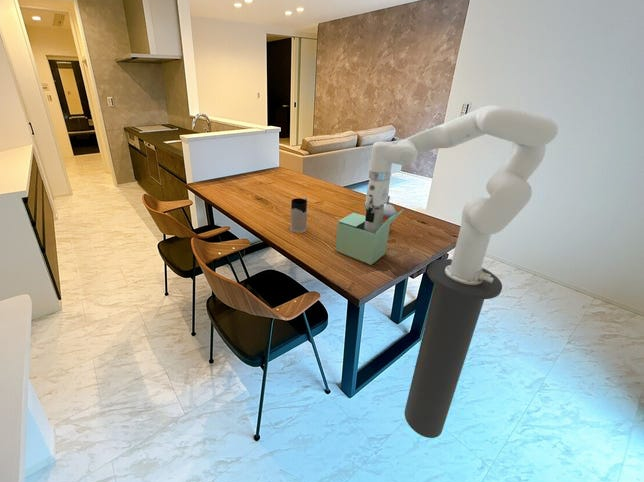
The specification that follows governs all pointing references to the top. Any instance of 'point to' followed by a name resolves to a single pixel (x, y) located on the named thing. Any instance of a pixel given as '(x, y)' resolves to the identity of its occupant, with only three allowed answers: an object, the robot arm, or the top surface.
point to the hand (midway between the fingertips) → (373, 218)
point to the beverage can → (375, 220)
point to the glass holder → (298, 215)
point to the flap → (389, 221)
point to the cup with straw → (388, 212)
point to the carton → (360, 239)
